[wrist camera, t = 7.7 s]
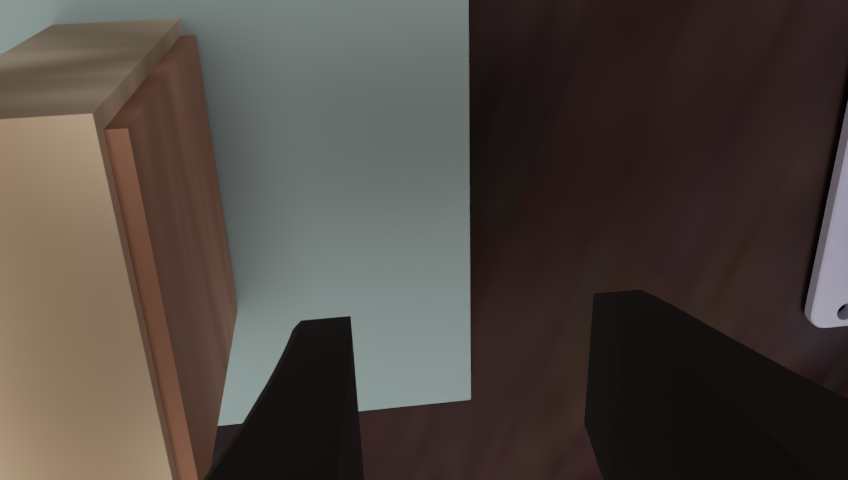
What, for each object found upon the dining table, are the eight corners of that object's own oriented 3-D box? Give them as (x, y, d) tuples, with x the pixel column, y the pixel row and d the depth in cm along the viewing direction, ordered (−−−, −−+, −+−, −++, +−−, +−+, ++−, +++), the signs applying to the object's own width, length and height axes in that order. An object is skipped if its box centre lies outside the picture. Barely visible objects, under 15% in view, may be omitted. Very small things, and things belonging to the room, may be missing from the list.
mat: (460, -198, 16) (467, -202, 15) (465, 382, 22) (470, 399, 21) (-487, -175, 14) (-531, -178, 13) (-195, 448, 20) (-215, 470, 19)
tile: (195, 17, 16) (117, 111, 10) (240, 314, 19) (204, 534, 13) (51, 24, 16) (-125, 127, 9) (120, 324, 19) (22, 556, 12)
